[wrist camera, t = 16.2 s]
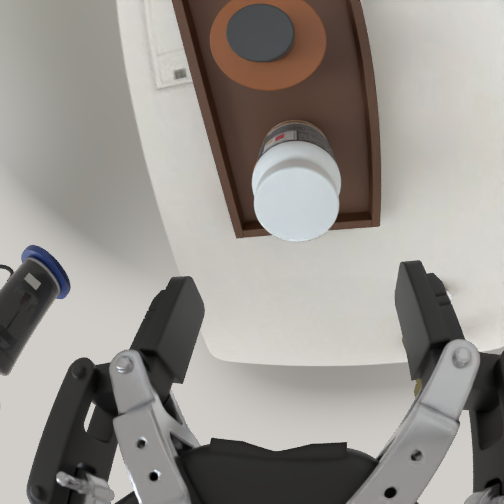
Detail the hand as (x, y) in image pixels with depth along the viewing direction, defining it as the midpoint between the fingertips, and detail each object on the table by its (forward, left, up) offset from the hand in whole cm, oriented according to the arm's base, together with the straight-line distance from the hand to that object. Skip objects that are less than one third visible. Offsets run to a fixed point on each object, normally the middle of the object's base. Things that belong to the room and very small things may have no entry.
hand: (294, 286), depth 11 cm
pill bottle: (0, 0, -16) cm, 16 cm away
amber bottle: (0, +9, -16) cm, 18 cm away
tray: (0, +8, -16) cm, 18 cm away
